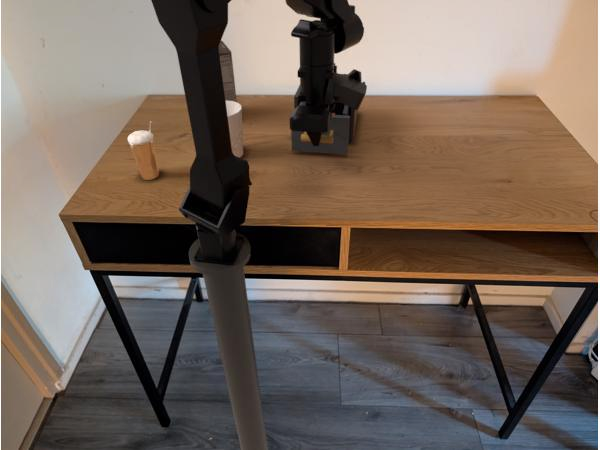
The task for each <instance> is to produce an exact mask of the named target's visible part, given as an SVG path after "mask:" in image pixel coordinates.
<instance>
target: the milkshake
mask: <svg viewBox="0 0 600 450" xmlns="http://www.w3.org/2000/svg"><path fill="white" fill-rule="evenodd" d="M154 136H155V135H154V134H153V133H152V121H149V125H148V130H145V129H144V130H143V129H142V130H135V131H133V132H132V133H130V134H129V135H128V136H127V143H128V146H129V147H130V150H131V152H132V155H133V158H134V160H135V163H136V165H137V168H138V171H139V173H140V176H141V178H142V179H143V180H144V181H152V180H155V179H157V178H158V177H159V176H160V170H159V169H160V168H159V164H158V163H159V162H158V158H157V157H158V156H157V151H156V143H155V137H154Z"/></svg>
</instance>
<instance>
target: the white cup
mask: <svg viewBox="0 0 600 450" xmlns="http://www.w3.org/2000/svg"><path fill="white" fill-rule="evenodd" d="M226 108H227V116H228V124H229V132H230V139H231V147H232V152H233V154H234V156H237V157H239V158H242V157H243V155H244V126H243V125H244V123H243V108H242V105H241V103H238V102H234V101H226Z"/></svg>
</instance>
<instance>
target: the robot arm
mask: <svg viewBox="0 0 600 450" xmlns="http://www.w3.org/2000/svg"><path fill="white" fill-rule="evenodd" d="M150 1H151V4H152V7H153V10H154V13H155V15H156V18H157V21H158V23H159V25H160V26H161V28H162V29H163V31H164V32H165V34H166V36H167V37H168V39H169V40H170V42H171V44H172V45H173V46H174V48H175V51H176V54H177V55H176V56H177V60H178V65H179V70H180V75H181V81H182V87H183V92H184V97H185V103H186V107H187V108H186V109H187V112H188V118H189V123H190V128H191V135H192V140H193V145H194V149H195V158H194V159H193V161H192V164H191V166H190V168H189V187H188V188H187V191H186V193H185V195H184V197H183V199H182V201H181V203H180V206H179V208H178V211H179V213H180V214H181V215H182V217H183V218H185V219H188V220H190V221H192V222H194V224H195V228H196V233H197V237H198V238H199V243H200V246H199V248H198V250H197V252H196V254H195V256H194V261H196V262H204V263H213V264H221V265H234V263H235V261H236V258H237V256H238V254H239V251H240V249H241V246H242V244H243V242H244V237H245V236H244V237H241V236H236V233H235V232H236V229H238V228H239V227H241V226H242V225H243V224H244V223H245V222H246V218H247V211H248V205H249V200H250V199H249V198H250V187H251V186H253V183H252V181H251V177H250V164H249V161H248V160H246V159H244V158H242V157H240V158H239V157H237V156H234V154H233V152H232V147H231V139H230V132H229V124H228V116H227V108H226V101H225V93H224V85H223V78H222V70H221V62H220V54H219V44H220V41H222V38H223V36H224V33H225V31H226V29H227V26H228V23H229V4H230V2H231V1H232V0H150ZM284 1H285V4H286V6H287V7H289V8H290V10H292V11H293V12H294V13H296V14H297V15H301V16H306V17H307V18H308V17H309V18H313V19H314V18H315V19H314V20H308V19H299V20H298V22H297V24H296V26H294V27H293V28H292V30H291V32H290V36H291V37H292V38H293V37H294V38H298V39H299V43H298V44H299V68H298V70H297V78H299V85H300V92H299V95H298V101H304V102H303V104H302V106H301V105H299V106H298V107H297V108H295V109H293V110H292V112H293V113H292V112H291V113H292V115H291V114H290V117H289V130H290V131H291V130H292V131H301V132H306V133H307V135H308V137H309V138H310V140H311V142H312V144H313V146H319V144H320V140H321V135H322V133H325V132H328V128H329V124H330V120H331V118H332V114H333V113H331V112H333V110H334V107H335V104H334V103H333V98H334V100H335V101H337V102H340V103H342V104H344V105H347V106H349V107H350V108H351V109H354V110H358V111H359V109H360V107H361V105H362V102H363V100H364V98H365V96H366V94H367V88H368V86H367V84H366V82H365V81H362V79H363V78H362V72H361V71H360V70H358V69H356V68H354V69H352V70H351V71H350V72H349V73H343V74H344V75H341V74H342V73H338V65H336V62H335V54H340V53H342V52H344V51H346V50H348V49H350V48H352V47H354V46H356V45H358V44H359V43H360V42H361V40H362V39H363V37H364V33H365V27H364V24H363V21H362V19H361V18H360V16H359V15H358V14H357V13H356V5H354V4H353V5H352V4H349V1H348V0H284ZM346 74H348V75H347V76H346ZM198 238H197V239H198ZM230 262H231V263H230Z"/></svg>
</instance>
